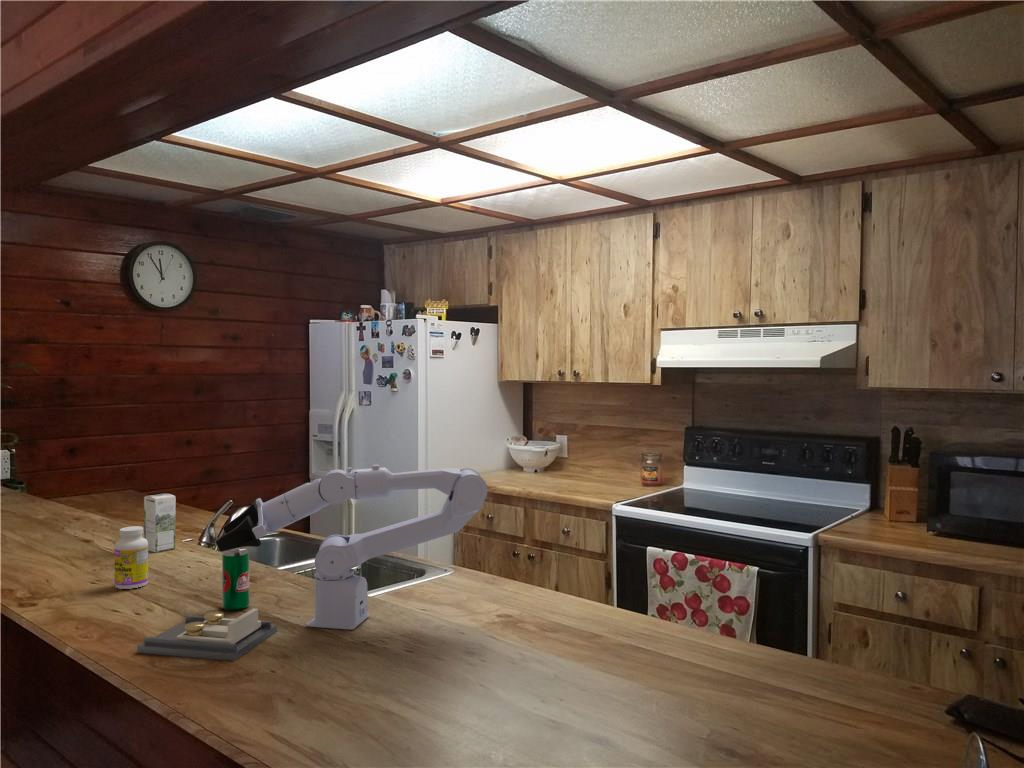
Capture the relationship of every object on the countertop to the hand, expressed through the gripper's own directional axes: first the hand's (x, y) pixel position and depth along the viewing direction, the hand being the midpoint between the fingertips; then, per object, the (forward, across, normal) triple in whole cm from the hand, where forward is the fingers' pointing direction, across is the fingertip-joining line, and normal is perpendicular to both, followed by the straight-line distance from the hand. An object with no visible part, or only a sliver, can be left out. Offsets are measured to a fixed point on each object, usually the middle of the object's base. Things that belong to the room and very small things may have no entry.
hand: (222, 539), depth 137 cm
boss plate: (+7, +9, +14) cm, 18 cm away
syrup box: (+34, -65, +11) cm, 74 cm away
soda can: (+7, -10, +17) cm, 20 cm away
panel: (+5, +10, +13) cm, 17 cm away
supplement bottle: (+30, -30, +8) cm, 44 cm away
